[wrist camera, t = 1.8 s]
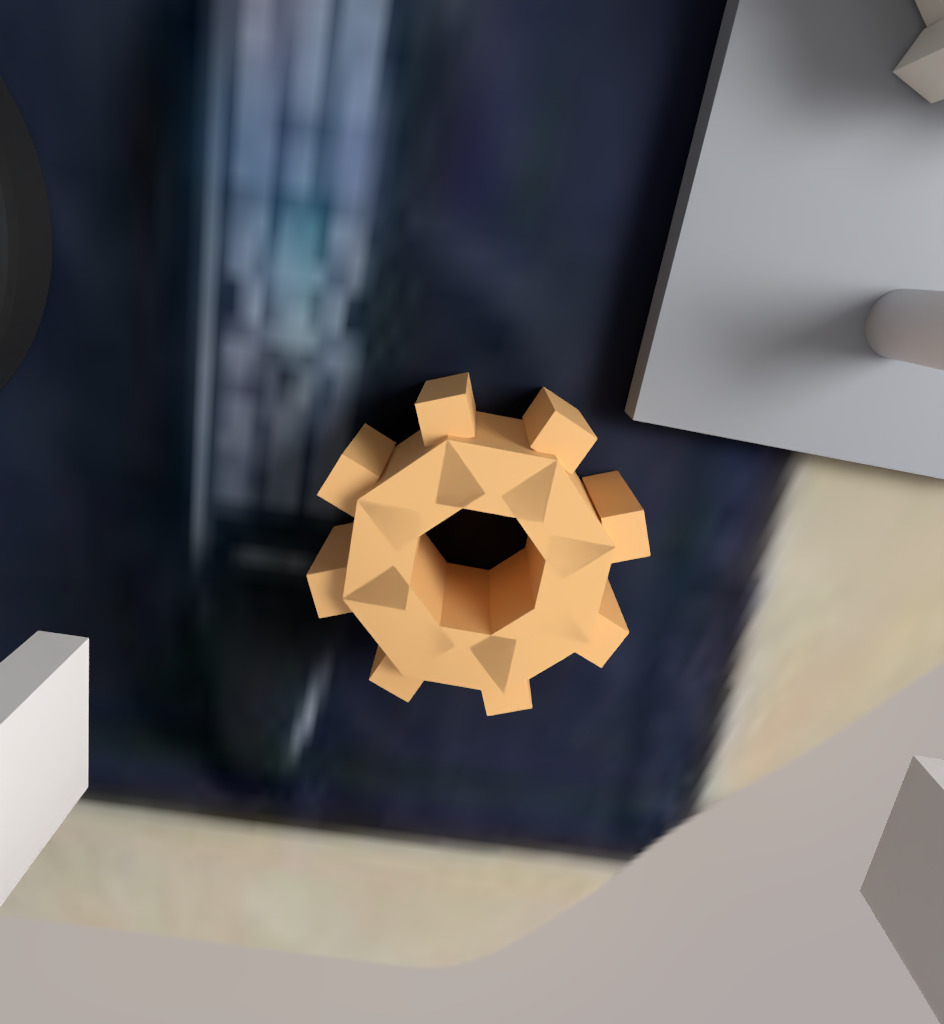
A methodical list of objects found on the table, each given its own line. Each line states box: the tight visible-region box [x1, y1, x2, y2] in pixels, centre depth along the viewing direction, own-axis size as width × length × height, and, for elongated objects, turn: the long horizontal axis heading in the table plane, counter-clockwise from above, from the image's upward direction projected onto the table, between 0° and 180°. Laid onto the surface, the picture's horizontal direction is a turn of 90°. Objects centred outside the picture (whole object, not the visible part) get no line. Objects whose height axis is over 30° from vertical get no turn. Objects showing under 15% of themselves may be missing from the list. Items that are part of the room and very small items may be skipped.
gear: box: [306, 372, 650, 716], centre depth 24 cm, size 10×10×5 cm
